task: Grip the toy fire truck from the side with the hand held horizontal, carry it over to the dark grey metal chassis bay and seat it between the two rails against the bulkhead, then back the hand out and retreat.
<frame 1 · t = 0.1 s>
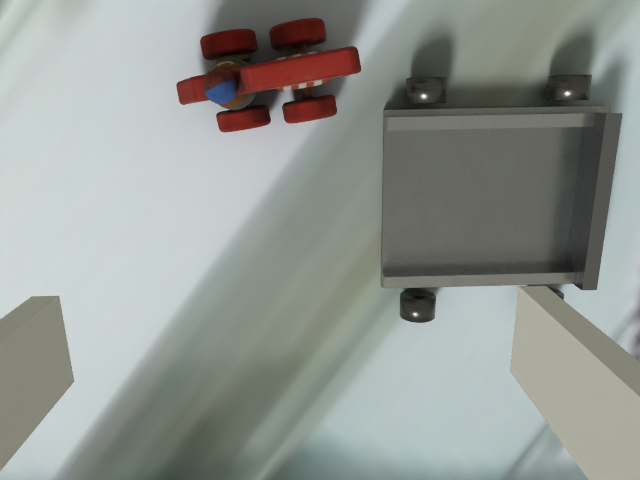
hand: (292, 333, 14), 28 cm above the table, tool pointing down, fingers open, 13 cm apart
toy fire truck: (270, 79, 39), on the table
chassis bay: (476, 199, 42), on the table
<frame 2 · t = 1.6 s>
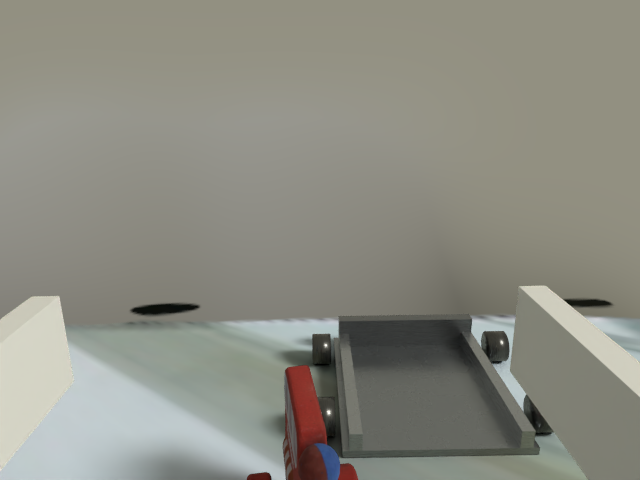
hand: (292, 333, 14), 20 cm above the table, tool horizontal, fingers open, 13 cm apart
chassis bay: (419, 394, 45), on the table
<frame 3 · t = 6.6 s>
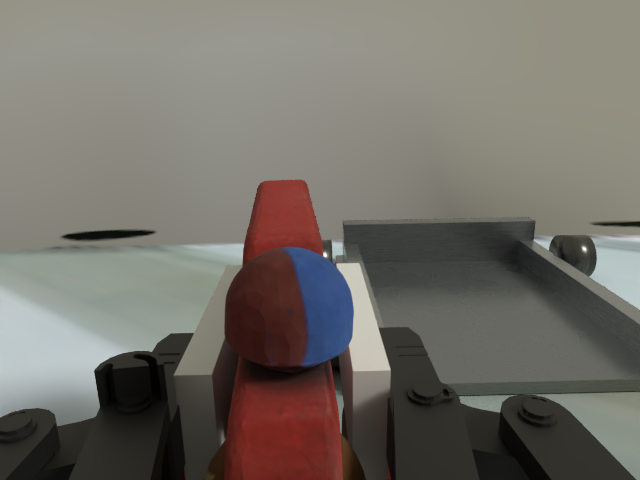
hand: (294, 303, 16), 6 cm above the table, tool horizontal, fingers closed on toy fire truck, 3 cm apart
chassis bay: (470, 315, 29), on the table
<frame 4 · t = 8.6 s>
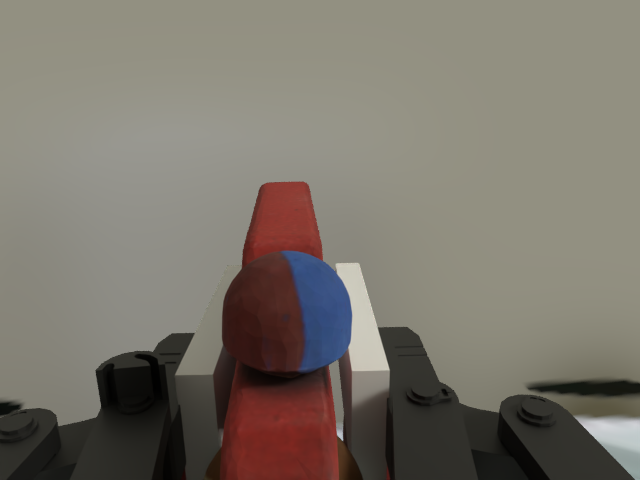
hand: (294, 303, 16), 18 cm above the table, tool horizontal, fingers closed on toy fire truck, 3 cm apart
when the fingers open (9 cm above the table, at t = 11.0 s): toy fire truck drops 2 cm, resting on chassis bay.
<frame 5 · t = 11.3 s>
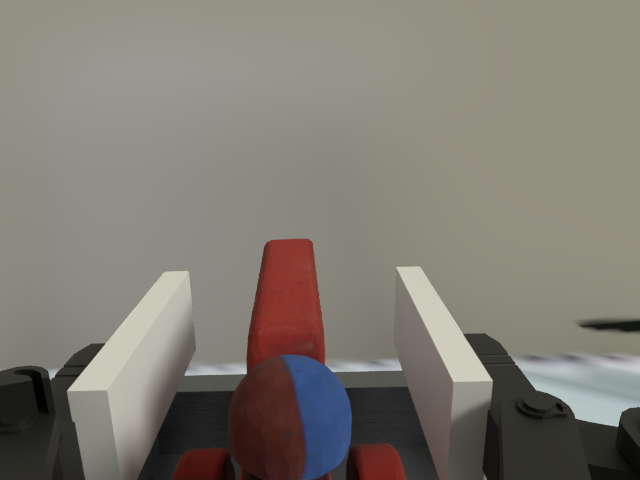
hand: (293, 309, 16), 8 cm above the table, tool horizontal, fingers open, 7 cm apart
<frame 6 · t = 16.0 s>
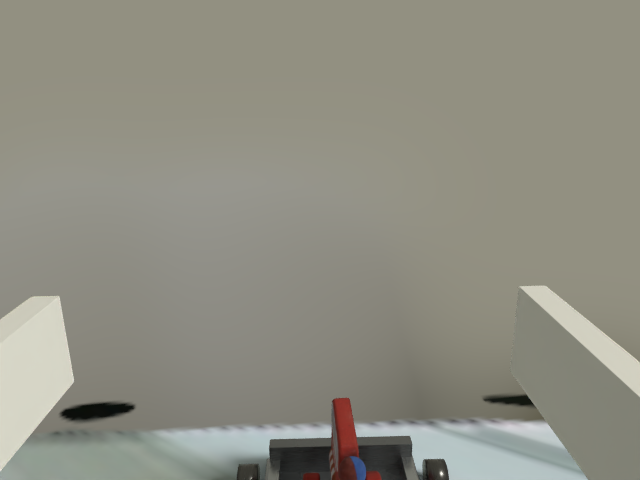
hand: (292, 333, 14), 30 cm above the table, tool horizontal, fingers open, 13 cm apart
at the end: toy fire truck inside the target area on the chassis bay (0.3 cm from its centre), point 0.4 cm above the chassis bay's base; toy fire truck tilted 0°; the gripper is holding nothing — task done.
